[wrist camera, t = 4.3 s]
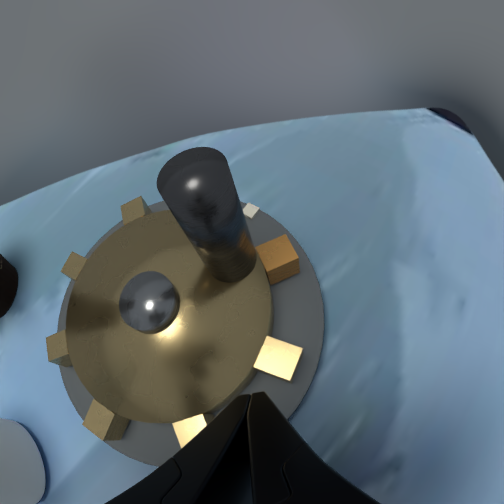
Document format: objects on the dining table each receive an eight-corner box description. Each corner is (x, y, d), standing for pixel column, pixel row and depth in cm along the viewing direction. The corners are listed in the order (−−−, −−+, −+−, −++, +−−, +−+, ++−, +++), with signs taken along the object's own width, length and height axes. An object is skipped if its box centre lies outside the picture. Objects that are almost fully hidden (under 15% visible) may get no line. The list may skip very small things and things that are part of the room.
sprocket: (360, 272, 19) (390, 165, 11) (191, 508, 13) (100, 563, 5) (163, 175, 26) (116, 88, 18) (33, 337, 21) (-55, 290, 12)
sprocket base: (376, 277, 20) (380, 268, 19) (203, 521, 14) (196, 527, 13) (169, 175, 28) (163, 165, 27) (34, 343, 22) (24, 338, 21)
